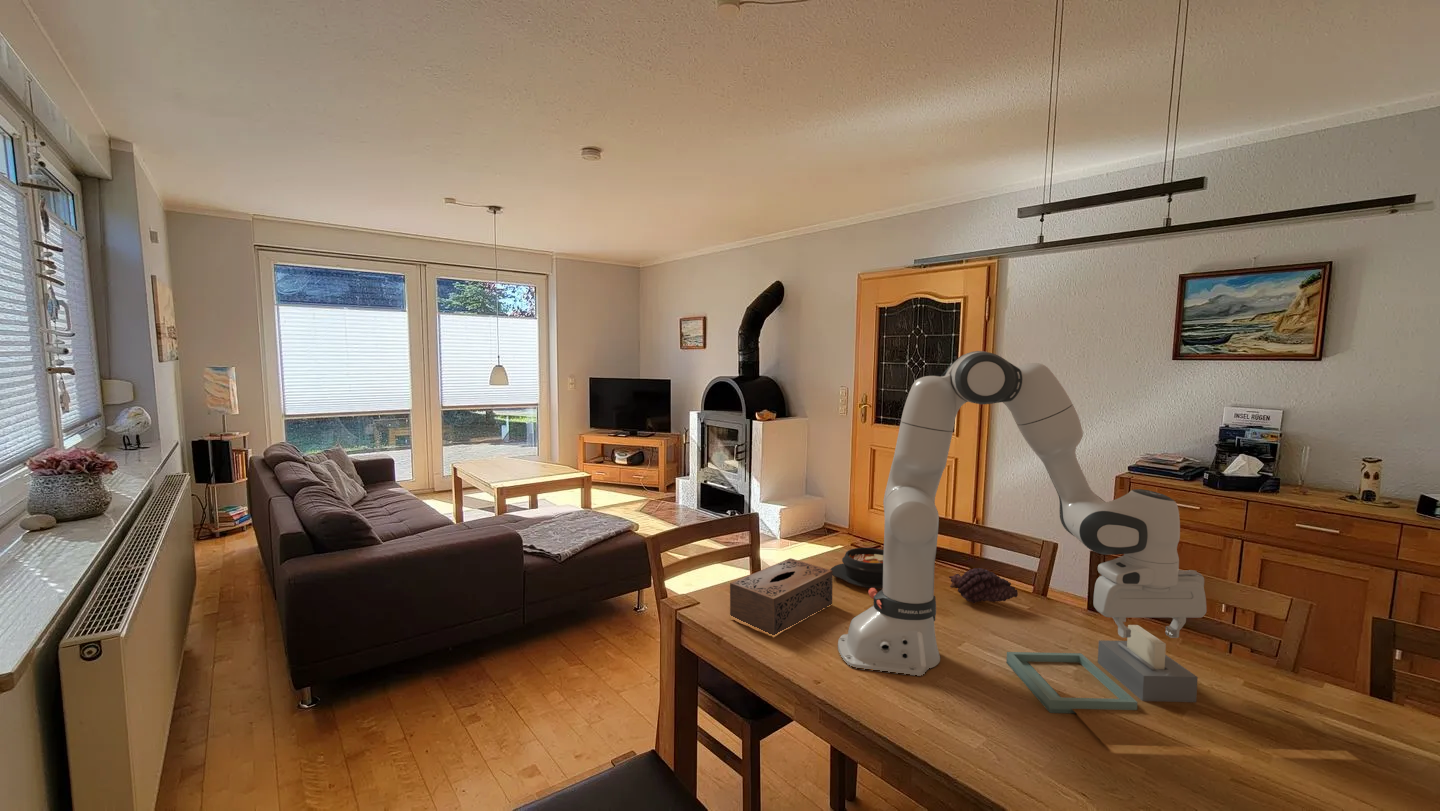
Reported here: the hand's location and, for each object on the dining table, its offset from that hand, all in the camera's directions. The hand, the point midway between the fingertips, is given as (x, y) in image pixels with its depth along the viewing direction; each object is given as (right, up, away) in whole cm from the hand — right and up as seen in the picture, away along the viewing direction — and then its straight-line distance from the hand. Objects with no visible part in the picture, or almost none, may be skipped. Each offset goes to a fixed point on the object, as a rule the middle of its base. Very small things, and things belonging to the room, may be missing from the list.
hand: (1148, 636), depth 115 cm
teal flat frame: (-16, -11, +1) cm, 19 cm away
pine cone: (-15, -8, +41) cm, 44 cm away
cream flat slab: (0, -10, +1) cm, 10 cm away
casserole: (-42, -7, +57) cm, 71 cm away
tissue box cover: (-71, -9, +36) cm, 80 cm away
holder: (0, -11, +1) cm, 11 cm away
